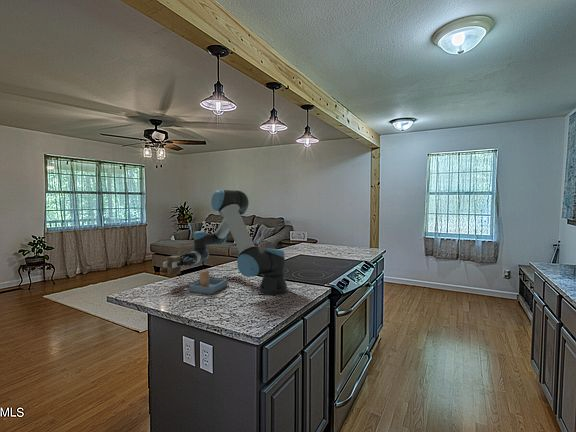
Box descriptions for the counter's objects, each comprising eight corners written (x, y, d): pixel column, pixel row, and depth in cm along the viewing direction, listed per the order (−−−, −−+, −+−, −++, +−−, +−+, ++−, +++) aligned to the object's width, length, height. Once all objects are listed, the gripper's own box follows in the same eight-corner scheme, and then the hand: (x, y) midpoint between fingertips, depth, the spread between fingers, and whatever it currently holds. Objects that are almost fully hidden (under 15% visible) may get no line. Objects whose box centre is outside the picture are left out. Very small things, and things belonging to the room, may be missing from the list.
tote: (227, 285, 182) (227, 279, 182) (212, 294, 165) (212, 287, 165) (206, 283, 186) (206, 277, 186) (189, 291, 169) (189, 285, 169)
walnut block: (180, 273, 179) (180, 256, 179) (175, 275, 175) (175, 257, 174) (173, 273, 181) (172, 255, 180) (167, 274, 176) (167, 257, 175)
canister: (210, 288, 174) (210, 270, 173) (207, 290, 169) (207, 272, 168) (201, 288, 174) (201, 270, 174) (198, 290, 169) (198, 272, 169)
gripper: (205, 264, 193) (182, 273, 170) (179, 263, 197) (154, 271, 175) (204, 252, 192) (182, 259, 170) (178, 251, 197) (153, 257, 174)
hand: (168, 265), depth 172 cm, fingers closed on walnut block, 5 cm apart
